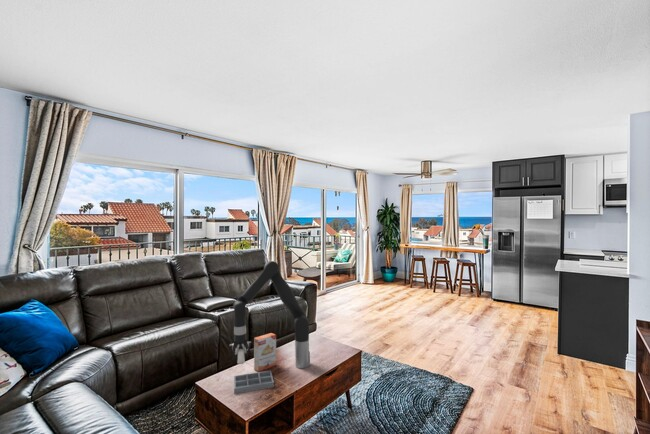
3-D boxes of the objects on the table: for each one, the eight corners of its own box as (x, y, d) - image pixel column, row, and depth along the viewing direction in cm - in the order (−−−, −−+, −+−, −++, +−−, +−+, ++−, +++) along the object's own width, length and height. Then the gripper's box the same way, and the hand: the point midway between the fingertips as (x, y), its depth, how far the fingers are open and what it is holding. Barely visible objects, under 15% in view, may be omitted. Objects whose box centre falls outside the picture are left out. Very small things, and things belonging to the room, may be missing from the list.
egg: (244, 360, 206) (244, 347, 206) (245, 363, 202) (244, 350, 202) (237, 361, 205) (236, 348, 205) (237, 364, 200) (237, 351, 200)
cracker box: (258, 372, 204) (258, 340, 205) (253, 369, 209) (253, 337, 209) (276, 365, 214) (276, 334, 214) (271, 362, 219) (271, 332, 219)
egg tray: (270, 374, 201) (270, 370, 201) (273, 386, 187) (273, 382, 187) (234, 380, 195) (234, 376, 195) (234, 393, 180) (234, 388, 180)
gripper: (251, 329, 209) (252, 355, 209) (228, 332, 205) (229, 358, 205) (251, 333, 202) (252, 359, 202) (228, 336, 198) (229, 363, 197)
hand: (240, 359), depth 203 cm, fingers closed on egg, 4 cm apart
